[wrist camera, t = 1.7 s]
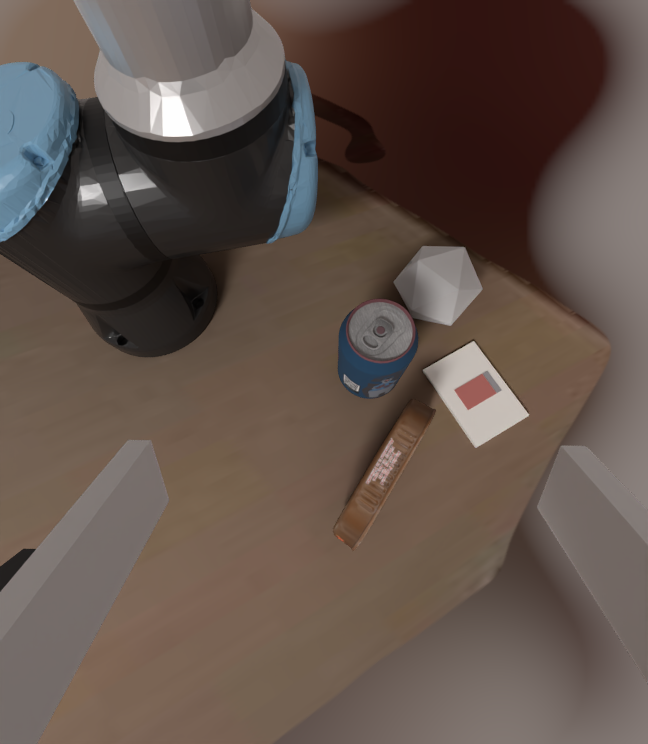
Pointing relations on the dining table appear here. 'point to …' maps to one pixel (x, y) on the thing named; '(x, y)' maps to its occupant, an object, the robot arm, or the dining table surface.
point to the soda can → (375, 347)
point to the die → (438, 284)
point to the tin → (383, 473)
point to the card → (475, 394)
